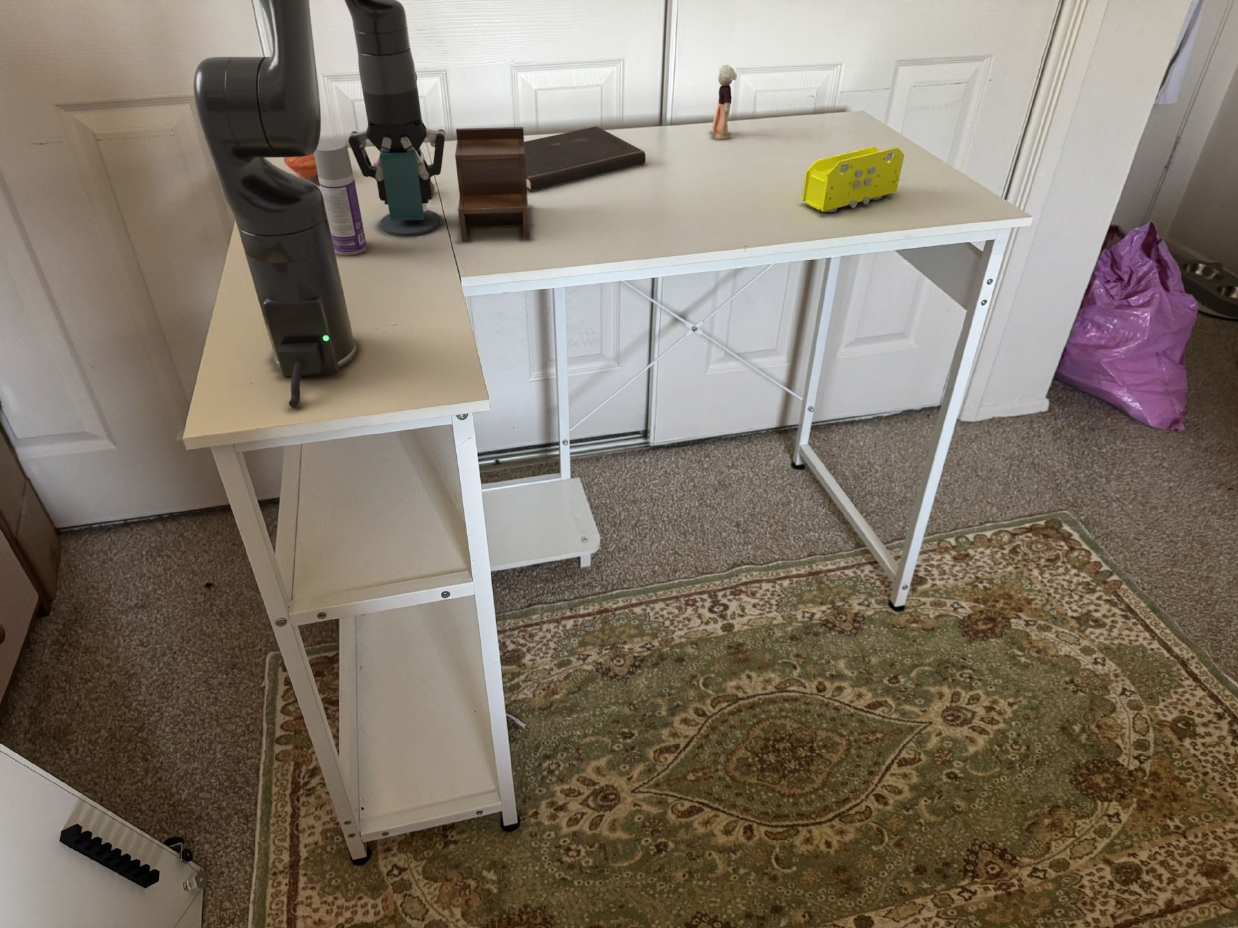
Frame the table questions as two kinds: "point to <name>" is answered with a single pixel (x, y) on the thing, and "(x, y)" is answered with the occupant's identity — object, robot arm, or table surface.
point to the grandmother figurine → (723, 102)
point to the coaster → (411, 225)
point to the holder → (403, 186)
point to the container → (340, 196)
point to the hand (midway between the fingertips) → (407, 201)
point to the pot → (302, 165)
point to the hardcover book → (577, 157)
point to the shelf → (491, 178)
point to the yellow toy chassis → (852, 178)
